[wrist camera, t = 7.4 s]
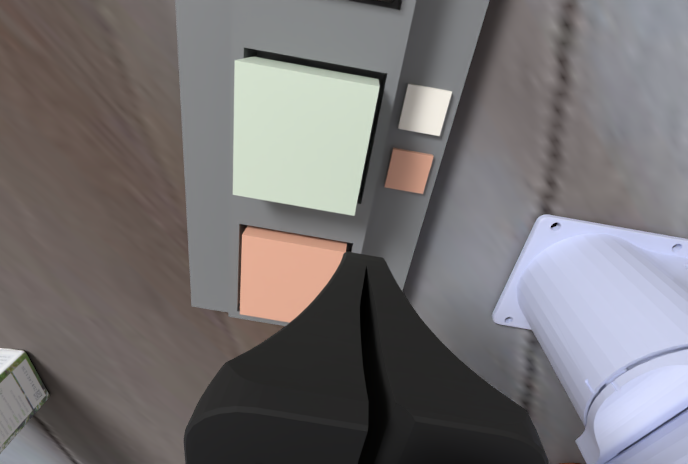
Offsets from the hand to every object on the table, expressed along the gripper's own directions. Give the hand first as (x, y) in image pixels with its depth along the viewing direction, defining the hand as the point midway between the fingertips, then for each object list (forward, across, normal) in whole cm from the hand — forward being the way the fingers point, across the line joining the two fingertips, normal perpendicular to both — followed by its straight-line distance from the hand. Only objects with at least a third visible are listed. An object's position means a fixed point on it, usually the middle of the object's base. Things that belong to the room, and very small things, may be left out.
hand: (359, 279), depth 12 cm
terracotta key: (+8, +3, +5) cm, 10 cm away
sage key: (+6, +3, -3) cm, 8 cm away
